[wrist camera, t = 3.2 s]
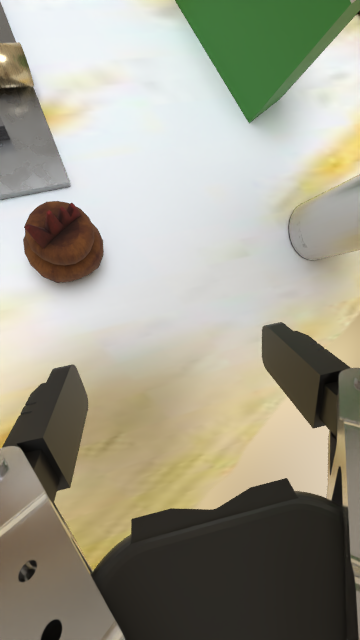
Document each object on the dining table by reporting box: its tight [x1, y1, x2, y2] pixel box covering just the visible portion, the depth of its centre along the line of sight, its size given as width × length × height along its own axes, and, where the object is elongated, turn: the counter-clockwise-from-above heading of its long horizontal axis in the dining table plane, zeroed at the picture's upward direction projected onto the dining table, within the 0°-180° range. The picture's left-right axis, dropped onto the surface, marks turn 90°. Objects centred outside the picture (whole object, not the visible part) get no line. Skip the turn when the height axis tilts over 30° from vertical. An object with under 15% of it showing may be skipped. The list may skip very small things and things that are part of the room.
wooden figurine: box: [23, 201, 103, 283], centre depth 22 cm, size 7×6×15 cm
